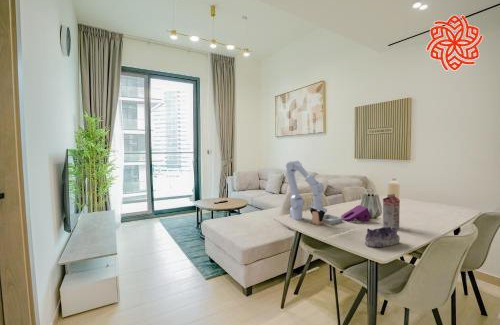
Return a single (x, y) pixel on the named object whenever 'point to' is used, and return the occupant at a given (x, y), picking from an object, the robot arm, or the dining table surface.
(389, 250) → the dining table surface
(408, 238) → the dining table surface
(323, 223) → the stud plate
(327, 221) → the bin
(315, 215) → the salmon brown block
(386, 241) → the geode
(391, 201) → the juice carton
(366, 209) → the mounting bracket
